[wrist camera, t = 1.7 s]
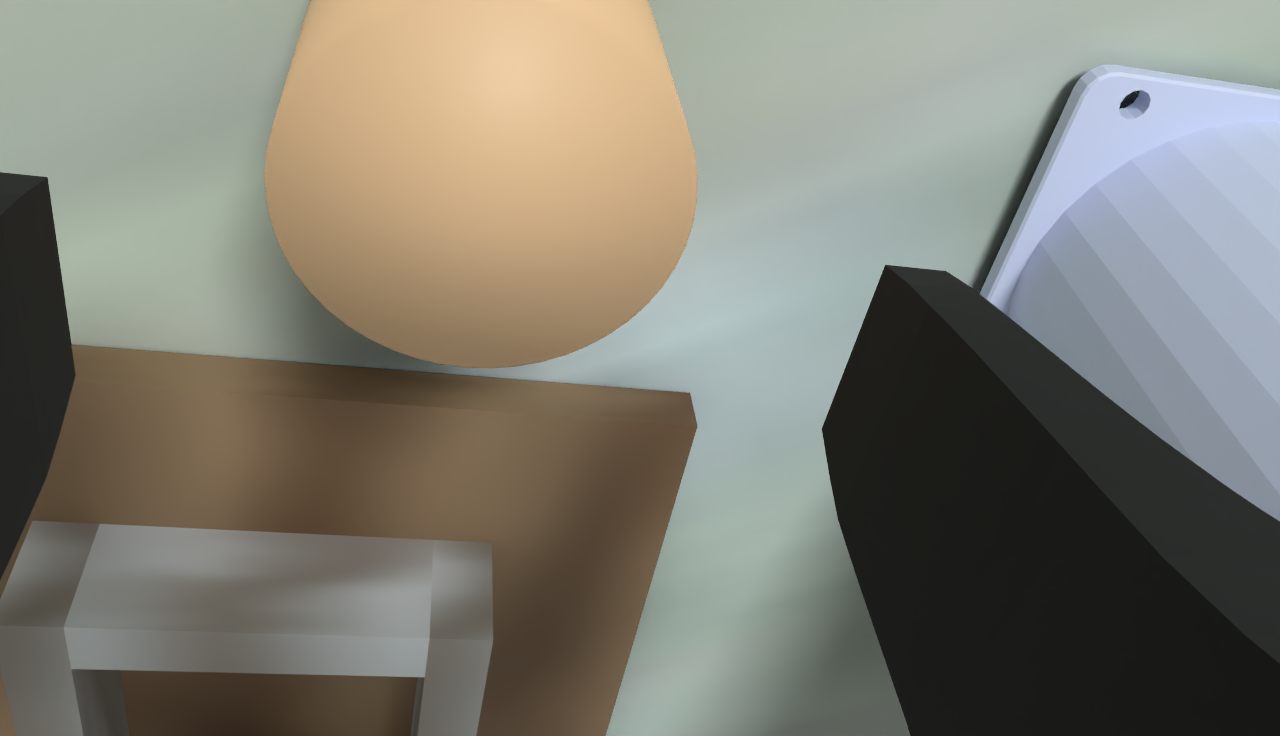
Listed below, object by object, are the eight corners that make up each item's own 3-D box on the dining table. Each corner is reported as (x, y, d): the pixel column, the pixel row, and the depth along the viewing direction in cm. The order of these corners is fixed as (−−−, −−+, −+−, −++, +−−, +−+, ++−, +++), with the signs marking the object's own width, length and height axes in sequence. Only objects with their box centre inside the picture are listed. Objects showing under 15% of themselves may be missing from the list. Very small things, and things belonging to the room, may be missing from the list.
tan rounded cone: (654, -166, 16) (742, 29, 11) (602, 113, 19) (651, 382, 14) (337, -224, 15) (262, -42, 10) (329, 78, 18) (266, 351, 13)
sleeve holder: (690, 392, 23) (718, 520, 20) (569, 816, 33) (577, 941, 30) (-204, 323, 20) (-312, 463, 17) (-44, 817, 29) (-96, 956, 27)
